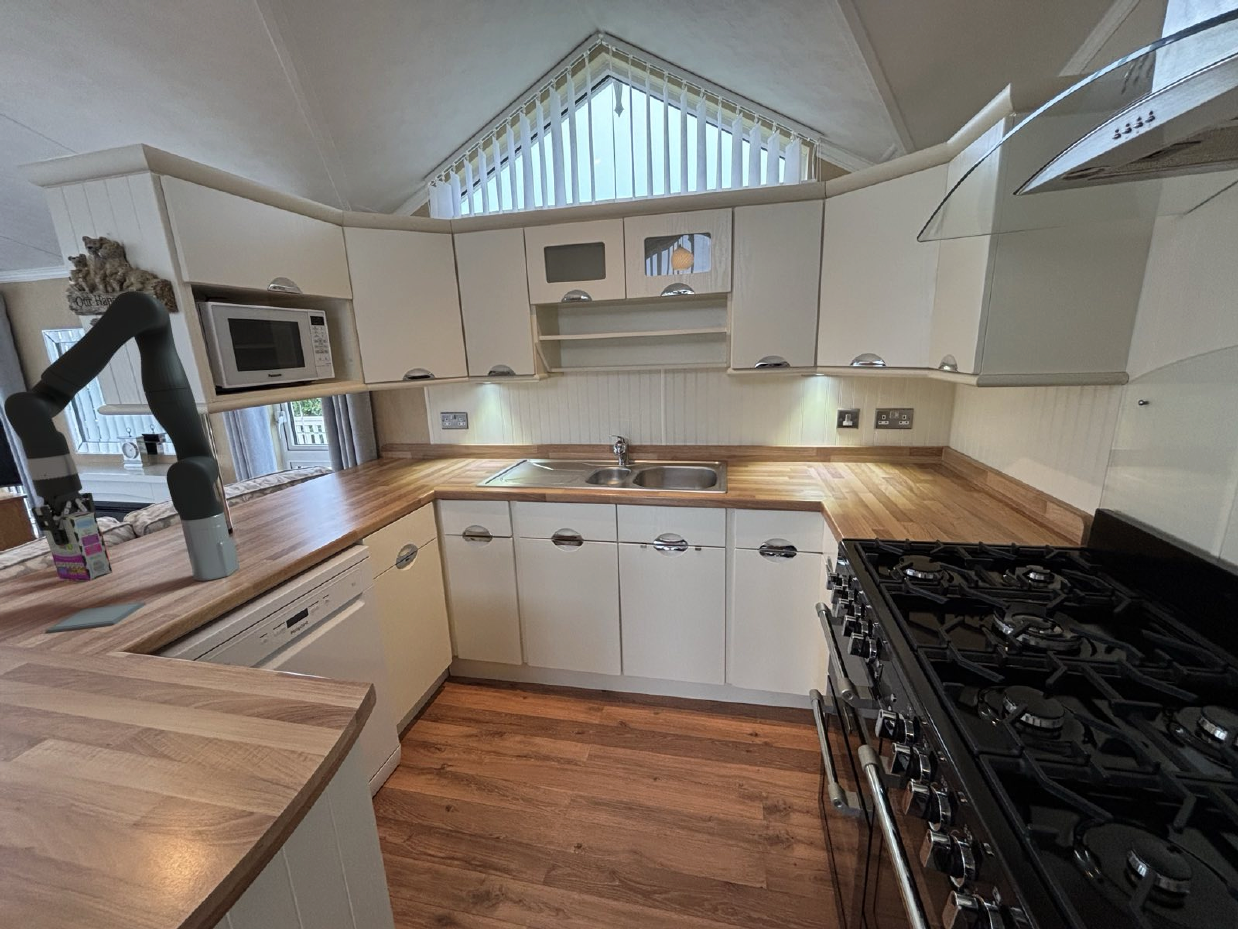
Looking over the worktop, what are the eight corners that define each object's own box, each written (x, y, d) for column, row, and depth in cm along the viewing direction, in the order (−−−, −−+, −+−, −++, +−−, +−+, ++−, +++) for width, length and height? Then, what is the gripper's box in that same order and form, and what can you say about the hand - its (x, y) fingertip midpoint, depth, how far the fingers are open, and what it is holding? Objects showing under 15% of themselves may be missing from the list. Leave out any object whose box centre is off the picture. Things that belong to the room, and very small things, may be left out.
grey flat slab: (145, 604, 122) (145, 601, 122) (114, 624, 112) (113, 621, 112) (83, 611, 119) (82, 608, 119) (45, 633, 110) (44, 630, 110)
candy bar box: (114, 572, 126) (95, 511, 123) (90, 581, 122) (69, 517, 118) (83, 570, 129) (63, 510, 125) (58, 579, 124) (37, 517, 121)
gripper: (46, 479, 113) (68, 548, 117) (97, 466, 127) (115, 528, 131) (6, 483, 112) (30, 552, 116) (62, 469, 126) (81, 532, 129)
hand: (75, 539), depth 123 cm, fingers closed on candy bar box, 6 cm apart
